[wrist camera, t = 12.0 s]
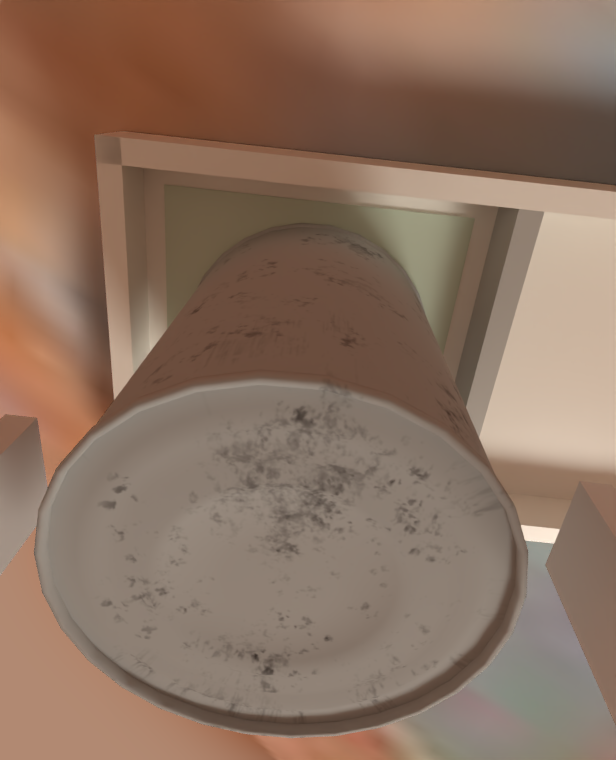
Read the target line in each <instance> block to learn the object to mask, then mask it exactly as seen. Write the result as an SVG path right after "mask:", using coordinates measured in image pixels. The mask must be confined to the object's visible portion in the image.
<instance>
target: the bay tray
mask: <svg viewBox="0 0 616 760" xmlns="http://www.w3.org/2000/svg"><path fill="white" fill-rule="evenodd" d="M94 140H95V153H96V167H97V180H98V193H99V207H100V220H101V233H102V246H103V260H104V273H105V286H106V300H107V313H108V326H109V339H110V353H111V366H112V379H113V393H114V400H115V398H116V397H117V396H118V394H119V393H120V392H121V390H122V389H123V388H124V386H125V385H126V384H127V382H128V381H129V380H130V378H131V377H132V376H133V374H134V373H135V372H136V370H137V369H138V367H139V366H140V365H141V363H142V362H143V361H144V359H145V358H146V357H147V355H148V354H149V353H150V351H151V350H152V349H153V347H154V346H155V345H156V343H157V342H158V341H159V339H160V338H161V337H162V335H163V334H164V333H165V331H166V330H167V328H168V327H169V326H170V324H171V323H172V322H173V320H174V319H175V318H176V316H177V315H178V314H179V312H180V311H181V310H182V308H183V307H184V306H185V304H186V303H187V302H188V300H189V299H190V298H191V296H192V295H193V294H194V292H195V291H196V290H197V288H198V286H199V284H200V282H201V280H202V278H203V276H204V274H205V273H206V272H207V271H208V270H209V269H210V267H211V266H212V265H213V264H214V263H215V262H216V260H217V259H218V258H219V257H220V256H221V255H222V254H223V253H224V252H226V251H227V250H229V249H230V248H231V247H233V246H234V245H236V244H237V243H238V242H240V241H241V240H243V239H244V238H246V237H248V236H251V235H253V234H256V233H258V232H261V231H263V230H266V229H268V228H271V227H276V226H283V225H290V224H297V223H309V224H321V225H331V226H334V227H338V228H341V229H344V230H347V231H350V232H353V233H356V234H359V235H361V236H363V237H364V238H366V239H368V240H369V241H371V242H372V243H374V244H376V245H377V246H379V247H381V248H382V249H384V250H385V251H386V252H387V253H388V254H389V255H390V256H391V257H392V258H393V259H394V260H395V261H396V262H397V263H398V264H399V265H400V266H401V267H402V268H403V269H404V270H405V271H406V273H407V275H408V276H409V278H410V279H411V281H412V283H413V284H414V286H415V288H416V289H417V291H418V293H419V295H420V298H421V301H422V304H423V308H424V311H425V314H426V317H427V320H428V322H429V324H430V326H431V329H432V331H433V333H434V336H435V338H436V340H437V342H438V345H439V347H440V349H441V352H442V354H443V356H444V359H445V361H446V363H447V365H448V368H449V370H450V372H451V375H452V377H453V379H454V381H455V384H456V386H457V388H458V391H459V393H460V395H461V398H462V400H463V402H464V404H465V407H466V409H467V411H468V414H469V416H470V418H471V420H472V423H473V425H474V427H475V430H476V432H477V434H478V436H479V439H480V441H481V443H482V446H483V448H484V450H485V453H486V455H487V457H488V459H489V462H490V464H491V466H492V469H493V471H494V473H495V475H496V477H497V478H498V480H499V481H500V483H501V484H502V486H503V487H504V489H505V490H506V492H507V494H508V495H509V497H510V498H511V500H512V501H513V503H514V505H515V507H516V510H517V514H518V517H519V521H520V524H521V528H522V532H523V535H524V539H525V540H527V541H536V542H546V543H555V540H556V538H557V535H558V533H559V530H560V528H561V526H562V523H563V521H564V518H565V516H566V513H567V511H568V508H569V506H570V503H571V501H572V499H573V496H574V494H575V491H576V489H577V486H578V484H579V481H584V482H593V483H601V484H610V485H612V486H613V487H614V489H615V490H616V185H609V184H600V183H590V182H581V181H572V180H563V179H554V178H545V177H536V176H527V175H518V174H509V173H500V172H491V171H481V170H472V169H463V168H454V167H445V166H436V165H427V164H418V163H409V162H400V161H391V160H382V159H372V158H363V157H354V156H345V155H336V154H327V153H318V152H309V151H300V150H291V149H282V148H273V147H263V146H254V145H245V144H236V143H227V142H218V141H209V140H200V139H191V138H182V137H173V136H164V135H154V134H145V133H136V132H127V131H119V132H111V133H102V134H94Z"/></svg>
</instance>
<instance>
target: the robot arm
mask: <svg viewBox="0 0 616 760" xmlns="http://www.w3.org/2000/svg"><path fill="white" fill-rule="evenodd" d="M47 488H48V487H47V480H46V473H45V467H44V460H43V454H42V447H41V441H40V434H39V427H38V421H37V418H34V417H25V416H16V415H8V414H5V415H4V416H3V417H2V418H1V419H0V575H1V574H2V572H3V571H4V570H5V568H6V567H7V565H8V564H9V563H10V562H11V560H12V559H13V557H14V556H15V555H16V553H17V552H18V551H19V549H20V548H21V547H22V545H23V544H24V542H25V541H26V540H27V538H28V537H29V536H30V534H31V533H32V531H33V530H34V529H35V527H36V526H37V517H38V509H39V507H40V504H41V502H42V500H43V497H44V495H45V493H46V491H47ZM546 568H547V570H548V572H549V574H550V577H551V579H552V581H553V584H554V586H555V588H556V590H557V593H558V595H559V597H560V600H561V602H562V604H563V606H564V609H565V611H566V613H567V615H568V618H569V620H570V622H571V625H572V627H573V629H574V631H575V634H576V636H577V638H578V641H579V643H580V645H581V647H582V650H583V652H584V654H585V657H586V659H587V661H588V663H589V666H590V668H591V670H592V672H593V675H594V677H595V679H596V682H597V684H598V686H599V688H600V691H601V693H602V695H603V698H604V700H605V702H606V704H607V707H608V709H609V711H610V714H611V716H612V718H613V720H614V723H615V725H616V490H615V489H614V487H613V486H612V485H610V484H601V483H593V482H584V481H579V484H578V486H577V489H576V491H575V494H574V496H573V499H572V501H571V503H570V506H569V508H568V511H567V513H566V516H565V518H564V521H563V523H562V526H561V528H560V530H559V533H558V535H557V538H556V540H555V543H554V545H553V548H552V550H551V553H550V555H549V557H548V560H547V562H546Z"/></svg>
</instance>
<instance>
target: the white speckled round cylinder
mask: <svg viewBox="0 0 616 760" xmlns="http://www.w3.org/2000/svg"><path fill="white" fill-rule="evenodd" d="M34 555H35V560H36V565H37V569H38V574H39V579H40V584H41V588H42V593H43V595H44V597H45V598H46V600H47V602H48V604H49V606H50V608H51V610H52V612H53V614H54V616H55V618H56V620H57V622H58V624H59V626H60V628H61V629H62V630H63V631H64V632H65V634H66V635H67V636H68V637H69V638H70V640H71V641H72V642H73V643H74V644H75V645H76V647H77V648H78V649H79V650H80V651H81V653H82V654H83V655H84V656H85V657H86V658H87V660H89V661H90V662H91V663H92V664H93V665H95V666H96V667H97V668H98V669H100V670H101V671H102V672H103V673H105V674H106V675H107V676H108V677H110V678H111V679H112V680H114V681H115V682H116V683H117V684H118V685H120V686H121V687H122V688H124V689H126V690H128V691H130V692H131V693H133V694H135V695H137V696H139V697H141V698H142V699H144V700H146V701H148V702H149V703H151V704H153V705H155V706H157V707H158V708H160V709H163V710H166V711H169V712H171V713H174V714H176V715H179V716H182V717H184V718H187V719H190V720H192V721H195V722H198V723H200V724H204V725H208V726H213V727H218V728H222V729H226V730H230V731H235V732H239V733H244V734H252V735H263V736H274V737H286V738H301V737H323V736H338V735H344V734H349V733H354V732H360V731H365V730H370V729H376V728H380V727H383V726H386V725H389V724H392V723H395V722H397V721H400V720H403V719H406V718H409V717H412V716H415V715H417V714H420V713H422V712H424V711H426V710H428V709H429V708H431V707H433V706H435V705H437V704H438V703H440V702H442V701H444V700H446V699H447V698H449V697H451V696H453V695H454V694H456V693H458V692H459V691H460V690H461V689H463V688H464V687H465V686H466V685H467V684H468V683H470V682H471V681H472V680H473V679H474V678H475V677H477V676H478V675H479V674H480V673H481V672H482V671H484V670H485V669H486V668H487V667H488V666H489V665H490V664H491V662H492V661H493V660H494V658H495V657H496V655H497V654H498V653H499V651H500V650H501V649H502V647H503V646H504V644H505V643H506V642H507V640H508V639H509V638H510V636H511V635H512V633H513V631H514V628H515V625H516V622H517V620H518V617H519V614H520V611H521V609H522V606H523V603H524V600H525V598H526V593H527V568H528V549H527V546H526V542H525V539H524V535H523V532H522V528H521V524H520V521H519V517H518V514H517V510H516V507H515V505H514V503H513V501H512V500H511V498H510V497H509V495H508V494H507V492H506V490H505V489H504V487H503V486H502V484H501V483H500V481H499V480H498V478H497V477H496V475H495V473H494V471H493V469H492V466H491V464H490V462H489V459H488V457H487V455H486V453H485V450H484V448H483V446H482V443H481V441H480V439H479V436H478V434H477V432H476V430H475V427H474V425H473V423H472V420H471V418H470V416H469V414H468V411H467V409H466V407H465V404H464V402H463V400H462V398H461V395H460V393H459V391H458V388H457V386H456V384H455V381H454V379H453V377H452V375H451V372H450V370H449V368H448V365H447V363H446V361H445V359H444V356H443V354H442V352H441V349H440V347H439V345H438V342H437V340H436V338H435V336H434V333H433V331H432V329H431V326H430V324H429V322H428V320H427V317H426V314H425V311H424V308H423V304H422V301H421V298H420V295H419V293H418V291H417V289H416V288H415V286H414V284H413V283H412V281H411V279H410V278H409V276H408V275H407V273H406V271H405V270H404V269H403V268H402V267H401V266H400V265H399V264H398V263H397V262H396V261H395V260H394V259H393V258H392V257H391V256H390V255H389V254H388V253H387V252H386V251H385V250H384V249H382V248H381V247H379V246H377V245H376V244H374V243H372V242H371V241H369V240H368V239H366V238H364V237H363V236H361V235H359V234H356V233H353V232H350V231H347V230H344V229H341V228H338V227H334V226H331V225H321V224H309V223H297V224H290V225H283V226H276V227H271V228H268V229H266V230H263V231H261V232H258V233H256V234H253V235H251V236H248V237H246V238H244V239H243V240H241V241H240V242H238V243H237V244H236V245H234V246H233V247H231V248H230V249H229V250H227V251H226V252H224V253H223V254H222V255H221V256H220V257H219V258H218V259H217V260H216V262H215V263H214V264H213V265H212V266H211V267H210V269H209V270H208V271H207V272H206V273H205V274H204V276H203V278H202V280H201V282H200V284H199V286H198V288H197V290H196V291H195V292H194V294H193V295H192V296H191V298H190V299H189V300H188V302H187V303H186V304H185V306H184V307H183V308H182V310H181V311H180V312H179V314H178V315H177V316H176V318H175V319H174V320H173V322H172V323H171V324H170V326H169V327H168V328H167V330H166V331H165V333H164V334H163V335H162V337H161V338H160V339H159V341H158V342H157V343H156V345H155V346H154V347H153V349H152V350H151V351H150V353H149V354H148V355H147V357H146V358H145V359H144V361H143V362H142V363H141V365H140V366H139V367H138V369H137V370H136V372H135V373H134V374H133V376H132V377H131V378H130V380H129V381H128V382H127V384H126V385H125V386H124V388H123V389H122V390H121V392H120V393H119V394H118V396H117V397H116V398H115V400H114V401H113V402H112V404H111V405H110V406H109V408H108V409H107V410H106V412H105V413H104V415H103V416H102V417H101V419H100V420H99V421H98V423H97V424H96V425H95V426H93V427H92V428H91V429H90V430H89V431H88V432H87V434H86V435H85V436H84V437H83V438H82V439H81V440H80V442H79V443H78V444H77V445H76V446H75V447H74V448H73V450H72V451H71V452H70V453H69V454H68V455H67V456H66V458H65V459H64V460H63V461H62V462H61V463H60V464H59V466H58V467H57V468H56V470H55V473H54V475H53V477H52V479H51V482H50V484H49V486H48V488H47V491H46V493H45V495H44V497H43V500H42V502H41V504H40V507H39V509H38V517H37V528H36V538H35V548H34Z"/></svg>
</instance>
